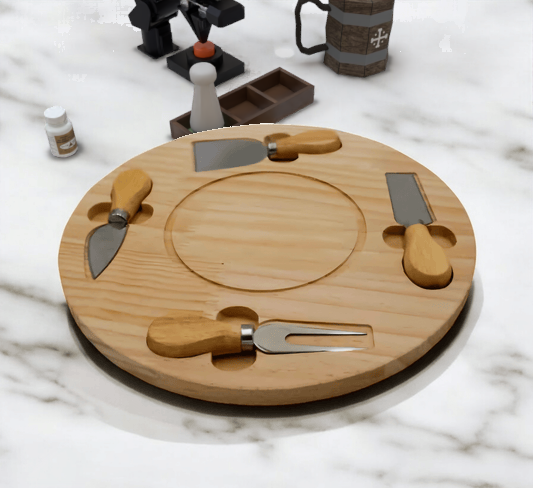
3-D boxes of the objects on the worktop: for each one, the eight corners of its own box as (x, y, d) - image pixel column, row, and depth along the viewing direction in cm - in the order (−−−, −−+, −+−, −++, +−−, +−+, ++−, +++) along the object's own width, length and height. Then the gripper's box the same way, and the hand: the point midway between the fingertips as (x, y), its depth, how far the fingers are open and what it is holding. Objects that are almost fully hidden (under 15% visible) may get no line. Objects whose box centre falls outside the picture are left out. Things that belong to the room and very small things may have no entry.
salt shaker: (226, 142, 111) (222, 74, 102) (193, 146, 110) (186, 78, 101) (222, 122, 115) (218, 55, 106) (189, 126, 114) (182, 59, 105)
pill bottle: (65, 161, 108) (54, 122, 103) (46, 152, 110) (34, 114, 105) (83, 147, 111) (74, 109, 106) (64, 139, 113) (54, 101, 107)
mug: (379, 41, 137) (388, -31, 126) (397, 75, 127) (409, 0, 117) (287, 48, 135) (288, -24, 124) (298, 82, 125) (301, 8, 115)
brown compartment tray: (171, 137, 113) (169, 120, 111) (279, 82, 126) (279, 66, 123) (204, 161, 108) (203, 144, 106) (313, 102, 121) (314, 85, 118)
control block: (167, 67, 130) (164, 49, 127) (206, 50, 134) (204, 32, 132) (205, 91, 123) (203, 72, 121) (244, 72, 128) (244, 54, 125)
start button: (189, 53, 126) (189, 44, 125) (205, 46, 128) (205, 38, 127) (202, 60, 124) (202, 52, 123) (219, 53, 126) (218, 45, 125)
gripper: (267, -37, 113) (267, 46, 124) (199, -67, 122) (205, 12, 133) (217, -19, 107) (222, 66, 118) (151, -51, 117) (161, 30, 128)
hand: (203, 42), depth 125 cm, fingers closed
